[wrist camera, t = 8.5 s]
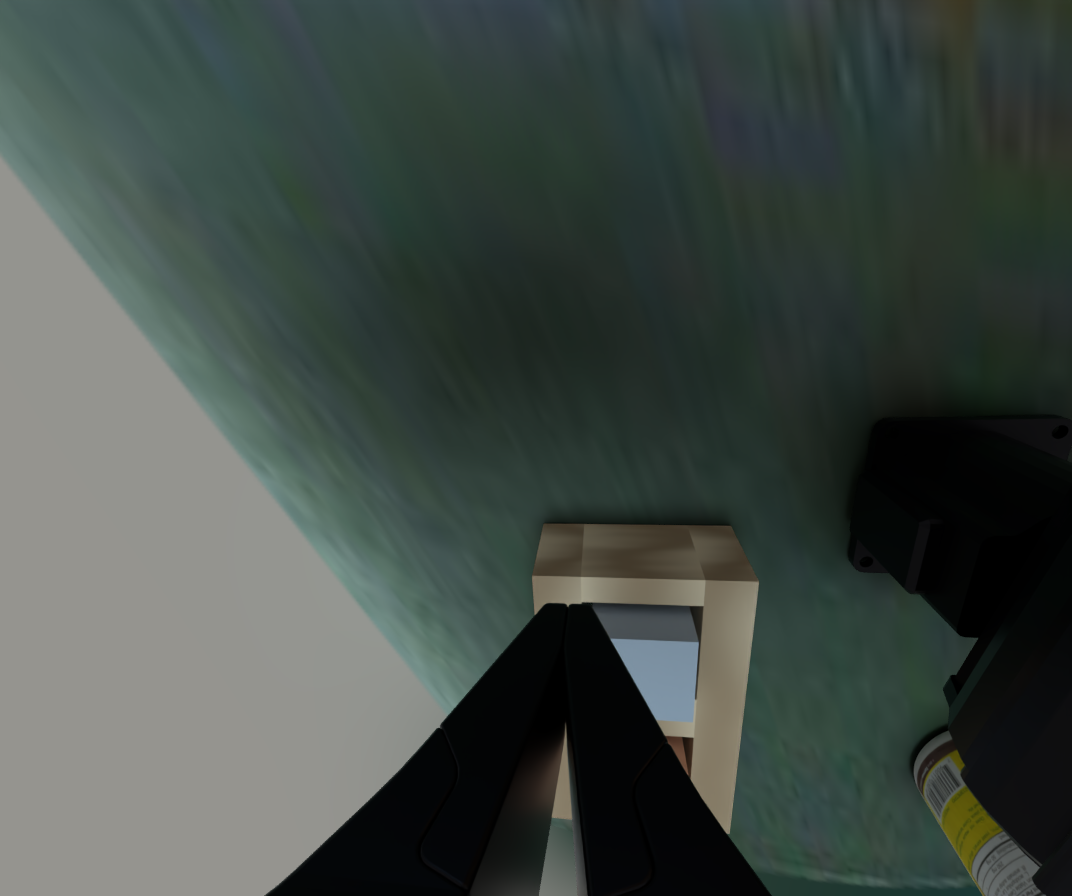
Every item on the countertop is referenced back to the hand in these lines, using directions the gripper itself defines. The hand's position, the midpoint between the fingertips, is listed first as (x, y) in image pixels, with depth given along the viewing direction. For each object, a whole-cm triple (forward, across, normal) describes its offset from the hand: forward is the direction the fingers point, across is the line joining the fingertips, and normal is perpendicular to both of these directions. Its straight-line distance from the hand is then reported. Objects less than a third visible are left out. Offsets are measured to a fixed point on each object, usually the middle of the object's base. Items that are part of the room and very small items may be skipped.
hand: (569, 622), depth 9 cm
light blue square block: (+9, -2, +8) cm, 12 cm away
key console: (+12, -2, +11) cm, 16 cm away
